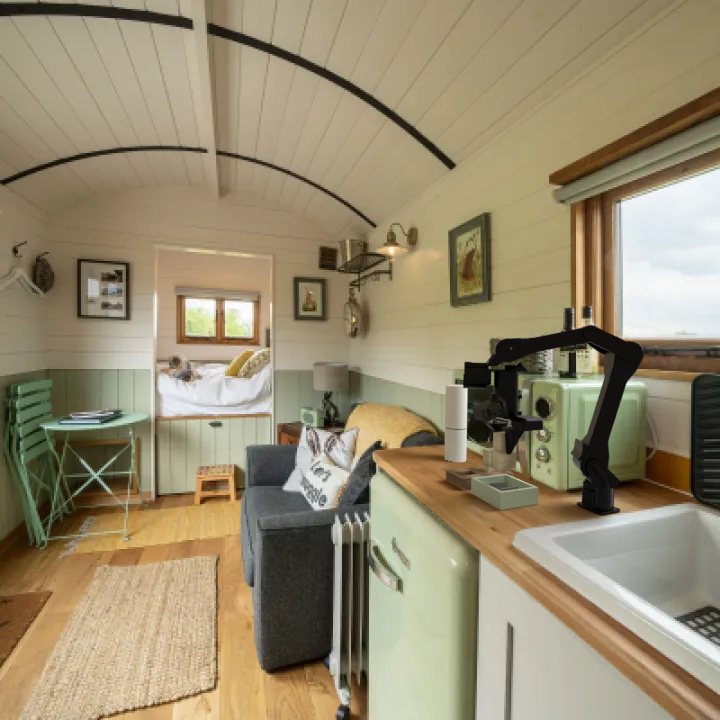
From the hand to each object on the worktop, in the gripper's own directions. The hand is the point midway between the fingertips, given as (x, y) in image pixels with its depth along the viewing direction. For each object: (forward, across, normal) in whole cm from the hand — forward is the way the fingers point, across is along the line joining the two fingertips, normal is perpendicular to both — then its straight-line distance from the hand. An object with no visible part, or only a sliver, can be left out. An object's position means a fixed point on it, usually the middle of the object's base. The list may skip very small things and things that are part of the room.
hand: (504, 452), depth 96 cm
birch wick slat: (+4, 0, 0) cm, 4 cm away
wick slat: (+11, -12, +6) cm, 18 cm away
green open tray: (+11, 0, 0) cm, 11 cm away
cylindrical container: (+12, -34, +9) cm, 37 cm away
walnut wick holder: (+11, -12, +2) cm, 17 cm away
